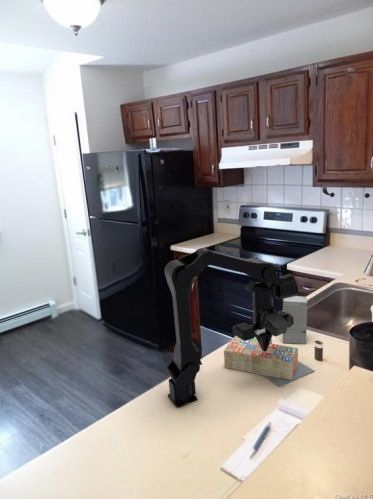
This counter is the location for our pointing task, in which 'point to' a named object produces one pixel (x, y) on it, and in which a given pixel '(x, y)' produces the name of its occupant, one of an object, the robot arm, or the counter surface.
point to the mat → (299, 372)
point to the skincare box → (296, 319)
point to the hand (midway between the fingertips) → (264, 351)
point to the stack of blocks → (261, 358)
